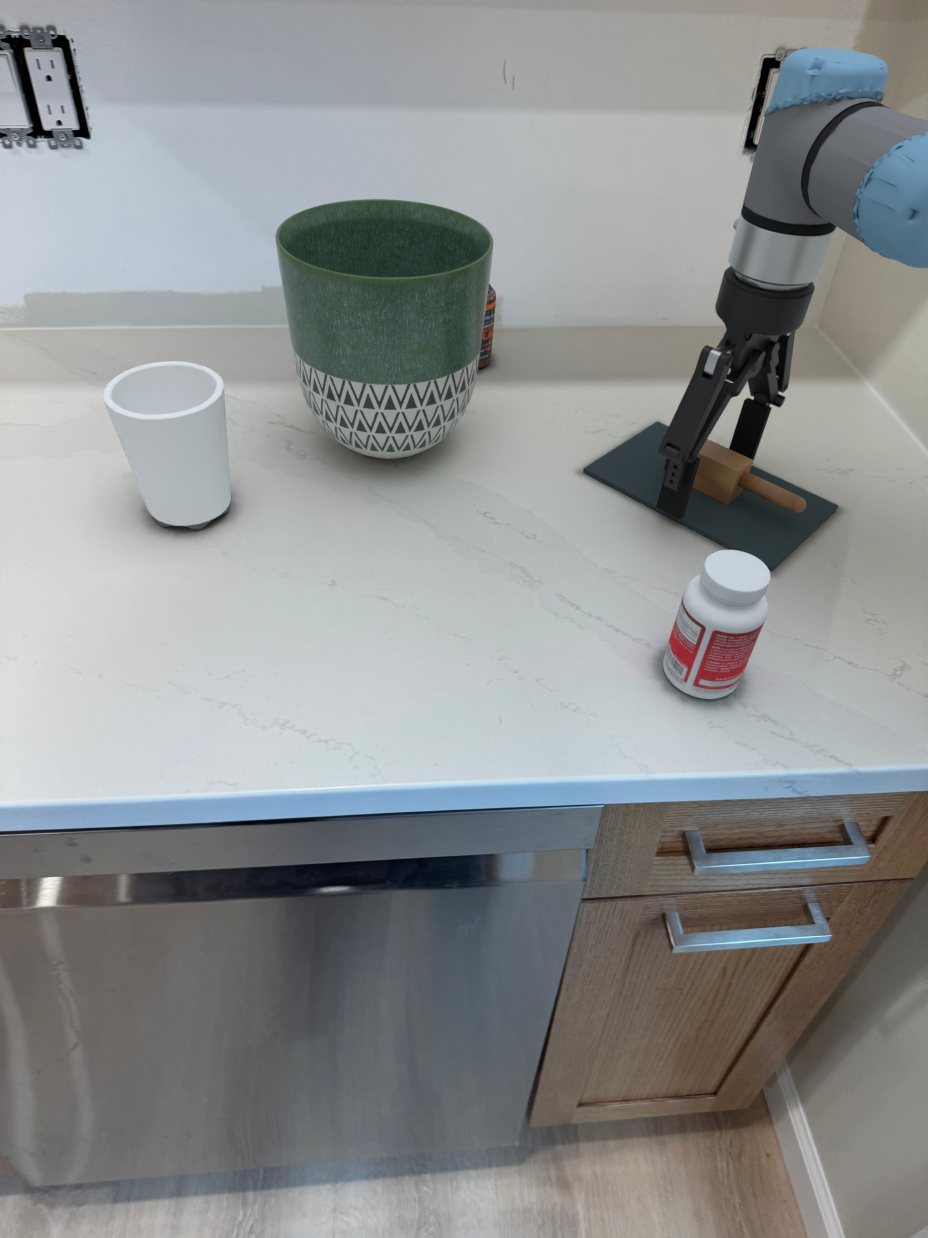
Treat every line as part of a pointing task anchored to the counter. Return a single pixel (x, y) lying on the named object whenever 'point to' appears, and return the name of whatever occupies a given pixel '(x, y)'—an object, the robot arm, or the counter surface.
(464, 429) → the counter surface
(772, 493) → the scrub brush
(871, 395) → the counter surface
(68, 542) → the counter surface
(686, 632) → the pill bottle
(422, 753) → the counter surface
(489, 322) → the supplement bottle
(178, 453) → the cup
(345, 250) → the planter
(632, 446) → the mat
